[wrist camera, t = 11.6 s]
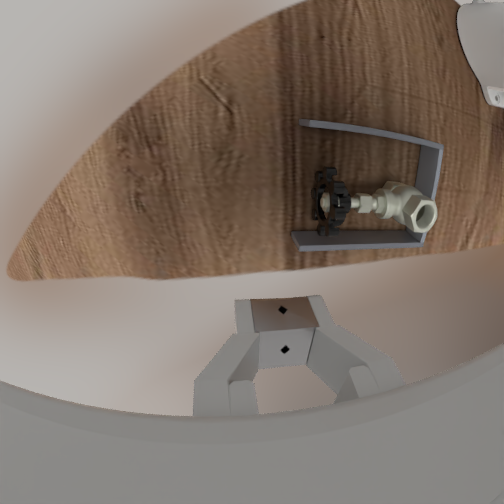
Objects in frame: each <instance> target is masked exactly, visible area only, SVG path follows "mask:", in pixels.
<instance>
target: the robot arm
mask: <svg viewBox="0 0 504 504" xmlns="http://www.w3.org/2000/svg"><path fill="white" fill-rule="evenodd" d="M457 27H458V33H459V37H460V41H461V44H462V47H463V50H464V53H465V55H466V57H467V60H468V62H469V64H470V66H471V68H472V70H473V71H474V73H475V75H476V76H477V78H478V80H479V82H480V84H481V86H482V90H483V93H484V96H485V99H486V101H487V103H488V104H489V105H492V106H496V107H500V108H503V109H504V2H485V1H484V0H473V2H472V3H471V4H464V5H462V6H461V7H460V8H459V10H458V14H457ZM296 365H306V366H307V367H308V368H309V369H310V370H312V371H313V372H314V373H315V374H316V375H317V376H318V377H319V378H320V379H321V380H322V381H323V382H324V383H325V384H326V385H327V386H329V387H330V388H331V389H332V390H333V391H334V392H335V393H336V394H337V397H336V399H335V401H334V403H333V404H330V405H325V406H319V407H313V408H307V409H301V410H293V411H286V412H277V413H267V414H259V412H258V406H257V399H256V392H255V386H254V383H253V382H252V381H253V379H254V377H255V375H256V373H257V372H258V369H265V368H275V367H284V366H296ZM0 504H504V343H503V344H501V345H499V346H497V347H495V348H493V349H491V350H490V351H488V352H486V353H483V354H481V355H479V356H477V357H475V358H473V359H471V360H469V361H467V362H465V363H462V364H460V365H458V366H455V367H453V368H451V369H448V370H446V371H443V372H441V373H438V374H436V375H434V376H430V377H428V378H425V379H422V380H420V381H416V382H413V383H411V384H407V385H406V383H405V381H404V379H403V378H402V376H401V374H400V372H399V370H398V368H397V366H396V365H395V363H394V361H393V359H392V358H391V357H390V356H388V355H387V354H385V353H383V352H382V351H380V350H378V349H377V348H375V347H374V346H372V345H370V344H369V343H367V342H365V341H364V340H362V339H361V338H359V337H358V336H356V335H354V334H353V333H351V332H350V331H348V330H347V329H345V328H343V327H341V326H340V325H335V323H334V321H333V319H332V317H331V315H330V313H329V311H328V309H327V306H326V304H325V302H324V300H323V298H322V297H321V296H320V295H313V296H306V297H294V298H276V299H250V300H249V299H248V300H235V334H232V336H231V337H230V338H229V339H228V340H227V341H226V343H225V344H224V345H223V346H222V348H221V349H220V350H219V351H218V353H217V354H216V355H215V356H214V358H213V359H212V360H211V361H210V362H209V364H208V365H207V366H206V367H205V369H204V370H203V371H202V372H201V373H200V374H199V376H198V377H197V378H196V379H195V381H194V401H193V416H171V415H155V414H143V413H134V412H126V411H118V410H111V409H104V408H99V407H93V406H88V405H83V404H78V403H74V402H69V401H65V400H60V399H57V398H53V397H49V396H46V395H42V394H39V393H35V392H32V391H29V390H26V389H23V388H20V387H16V386H14V385H11V384H8V383H5V382H3V381H0Z"/></svg>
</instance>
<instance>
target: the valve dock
mask: <svg viewBox="0 0 504 504" xmlns="http://www.w3.org/2000/svg"><path fill="white" fill-rule="evenodd" d="M299 125H302V126H307V127H316V128H326V129H335V130H343V131H351V132H358V133H365V134H371V135H377V136H382V137H388V138H393V139H398V140H403V141H408V142H412V143H417V144H421V151H420V158H419V165H418V172H417V178H416V184H415V188H417V189H418V190H419V191H420V192H421V193H422V194H423V195H425V196H427V197H429V198H431V199H433V200H435V196H436V191H437V185H438V180H439V174H440V168H441V162H442V155H443V147H444V145H442V144H439V143H436V142H432V141H428V140H425V139H421V138H417V137H413V136H408V135H404V134H399V133H395V132H390V131H385V130H380V129H374V128H369V127H363V126H356V125H350V124H343V123H335V122H327V121H317V120H307V119H299ZM426 233H427V232H423V233H419V232H413V231H412V230H411V229H409V228H408V227H406V231H339V235H338V236H337V237H327V236H319V235H318V233H317V231H292V233H291V237H292V239H293V241H294V243H295V245H296V247H297V248H298V250H299V251H327V250H355V249H383V248H411V247H423V244H424V240H425V237H426Z"/></svg>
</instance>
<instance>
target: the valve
mask: <svg viewBox="0 0 504 504" xmlns="http://www.w3.org/2000/svg"><path fill="white" fill-rule="evenodd" d="M332 175H337V170H336V168H335V167H324V168H323V171H316V173H315V180H316V182H317V188H312V190H311V197H312V199H315V209H313V210H312V219H313V220H318V221H319V224H318V226H317V233H318V235H319V236H327V237H337V236H338V235H339V228H334V227H336V226H339V225H341V224H342V223H343V222H344V220H345V217H346V213H348V212H349V211H350V209H351V208H354V210H355V211H356V212H358V213H370V211H371V210H372V211H373V212H374V214H375V215H376V217H377V218H379V219H389V218H390V217H393V218H394V219H395V220H396V221H397V222H399V223H401V224H404V225H406V226H407V227H408V228H409V229H411V230H412V231H413V232H419V233H423V232H428V231H429V230H430V229H431V227H432V226H433V224H434V223H435V221H436V219H437V208H436V204H435V201H434V200H433V199H431V198H429V197H427V196H425V195H423V194H422V193H421V192H420V191H419V190H418V189H417V188H415V187H413V186H411V185H405V184H403V183H401V182H394V181H387V182H386V183H385V185H384V186H383V188H382V189H377V190H376V191H375V193H374V194H373V195H372V196H370V195H369V194H365V193H356V194H355V196H354V198H352V197H350V194H349V193H348V190H347V188H346V186H345V184H344V182H343V181H333V180H332ZM326 186H327V188H328V191H329V193H324V189H325V187H326ZM323 210H324V211H325V212H329V214H328V217H327V219H326V217H325V214H324V211H323Z"/></svg>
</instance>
